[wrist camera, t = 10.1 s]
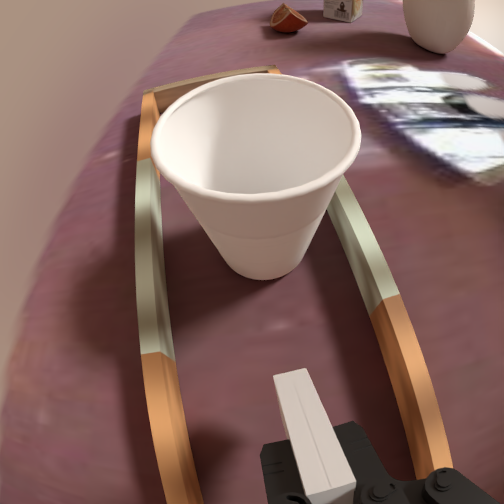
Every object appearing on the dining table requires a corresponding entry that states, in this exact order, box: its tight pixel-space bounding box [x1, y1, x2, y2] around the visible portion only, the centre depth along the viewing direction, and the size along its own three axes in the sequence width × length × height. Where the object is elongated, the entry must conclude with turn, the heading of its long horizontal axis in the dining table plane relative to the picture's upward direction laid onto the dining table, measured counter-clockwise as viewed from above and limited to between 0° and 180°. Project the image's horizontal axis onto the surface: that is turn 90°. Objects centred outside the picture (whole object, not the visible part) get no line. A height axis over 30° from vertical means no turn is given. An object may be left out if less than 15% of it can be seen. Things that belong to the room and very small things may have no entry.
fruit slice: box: [270, 3, 308, 32], centre depth 44 cm, size 8×7×5 cm
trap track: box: [135, 65, 453, 504], centre depth 22 cm, size 44×15×3 cm, turn 12°
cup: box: [150, 73, 361, 280], centre depth 18 cm, size 10×10×11 cm
